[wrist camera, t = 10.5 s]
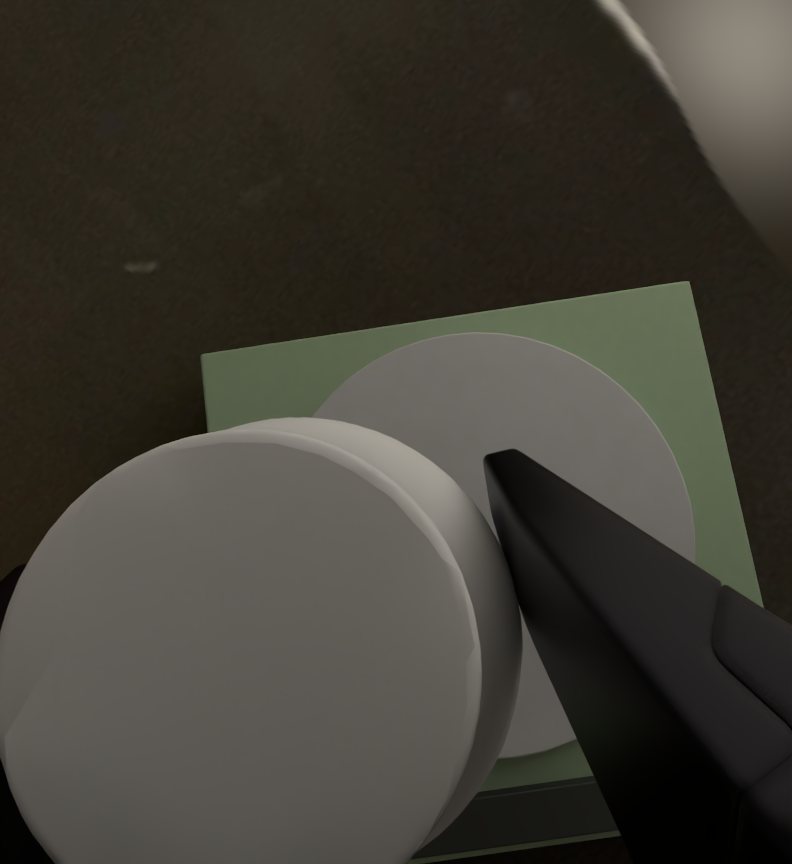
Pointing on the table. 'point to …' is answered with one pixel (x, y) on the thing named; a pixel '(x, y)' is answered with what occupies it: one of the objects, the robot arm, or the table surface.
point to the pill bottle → (259, 655)
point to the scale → (549, 446)
